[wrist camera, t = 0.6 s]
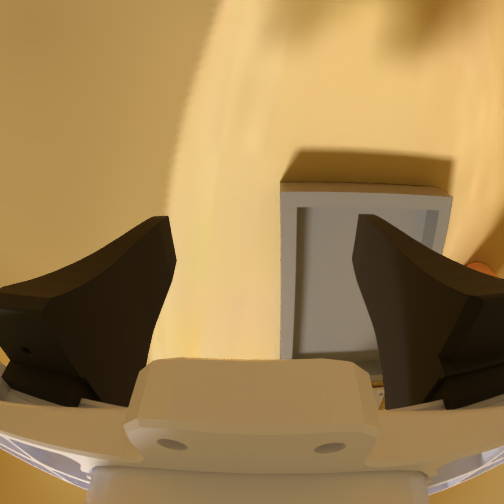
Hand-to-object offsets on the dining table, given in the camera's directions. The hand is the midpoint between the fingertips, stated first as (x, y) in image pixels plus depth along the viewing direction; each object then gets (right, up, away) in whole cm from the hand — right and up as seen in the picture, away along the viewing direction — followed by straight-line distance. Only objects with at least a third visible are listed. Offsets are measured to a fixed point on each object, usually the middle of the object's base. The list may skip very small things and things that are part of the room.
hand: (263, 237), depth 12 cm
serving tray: (+8, -4, +13) cm, 16 cm away
